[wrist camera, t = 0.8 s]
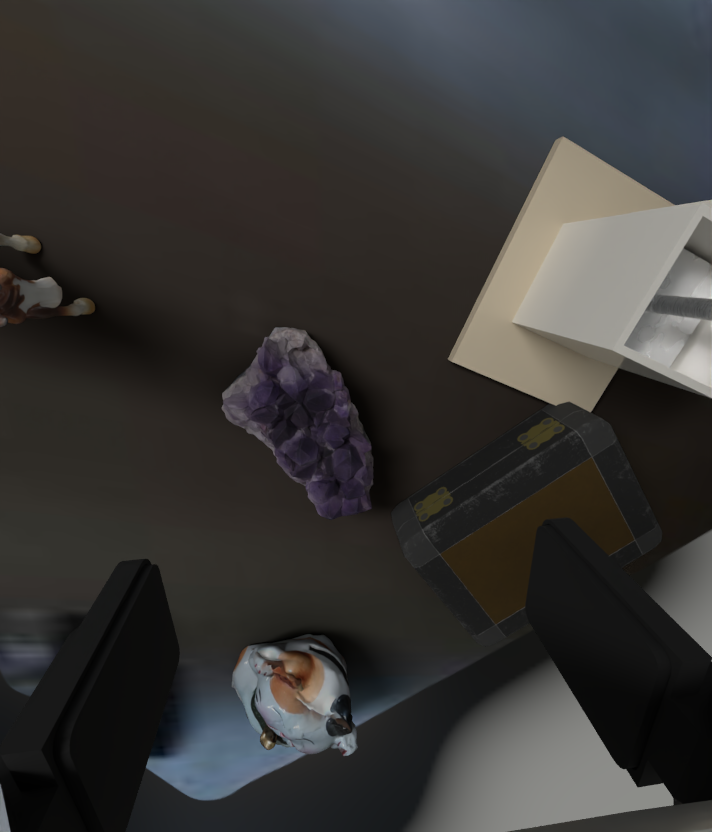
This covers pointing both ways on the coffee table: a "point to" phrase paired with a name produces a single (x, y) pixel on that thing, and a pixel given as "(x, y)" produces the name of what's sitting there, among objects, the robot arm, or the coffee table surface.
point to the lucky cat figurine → (297, 694)
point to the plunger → (674, 310)
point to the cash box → (521, 514)
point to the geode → (305, 421)
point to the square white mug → (584, 285)
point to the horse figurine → (33, 291)
